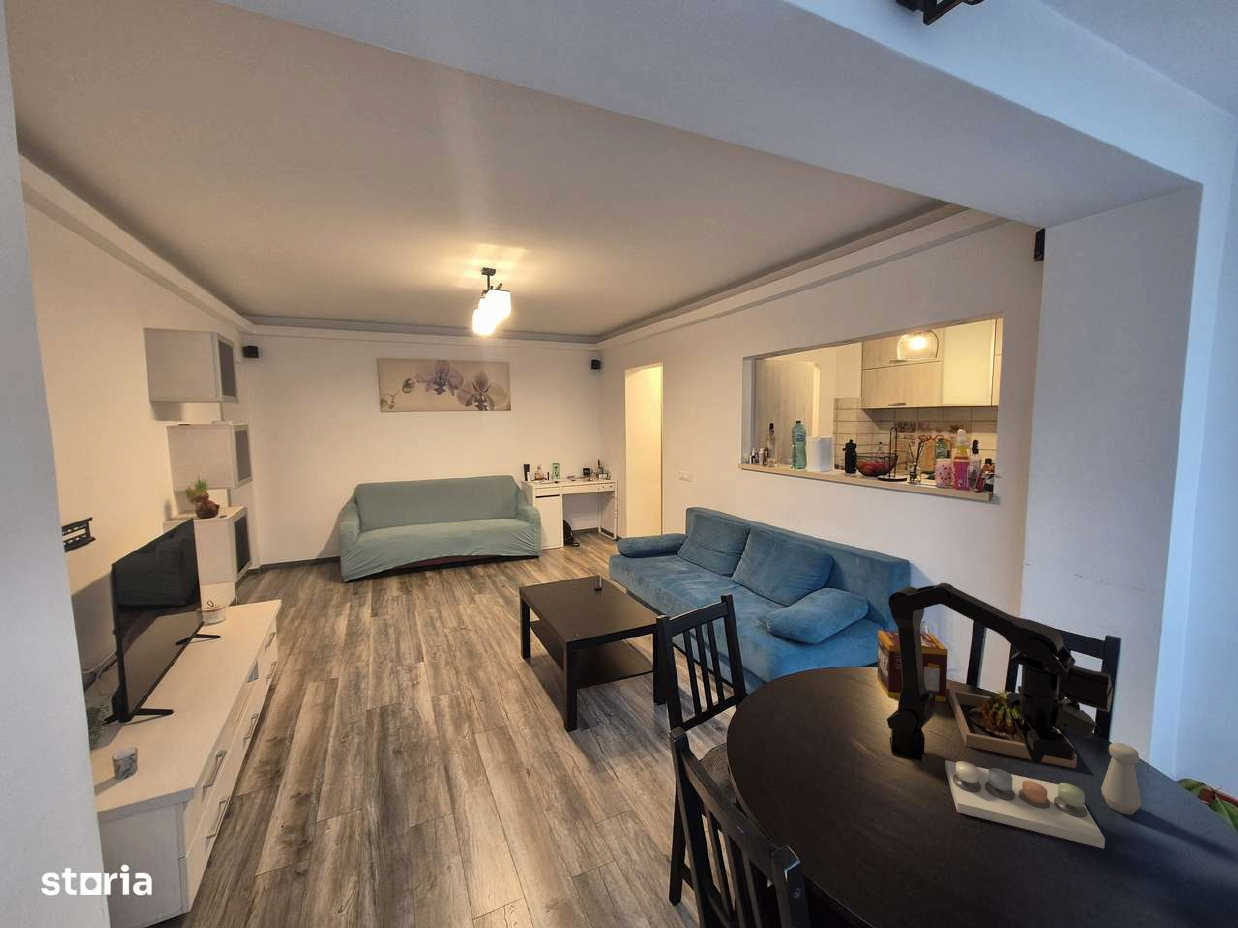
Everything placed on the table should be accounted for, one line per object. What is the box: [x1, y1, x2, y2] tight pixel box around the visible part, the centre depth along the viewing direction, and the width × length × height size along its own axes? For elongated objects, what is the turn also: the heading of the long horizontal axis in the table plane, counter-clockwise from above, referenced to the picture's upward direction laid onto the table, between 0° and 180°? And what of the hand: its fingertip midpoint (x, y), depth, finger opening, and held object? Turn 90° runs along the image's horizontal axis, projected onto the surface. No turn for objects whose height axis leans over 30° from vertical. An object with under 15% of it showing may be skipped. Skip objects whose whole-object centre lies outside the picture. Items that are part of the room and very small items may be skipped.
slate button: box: [988, 767, 1013, 791], centre depth 106 cm, size 4×4×2 cm
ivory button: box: [956, 760, 979, 783], centre depth 108 cm, size 4×4×2 cm
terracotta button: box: [1022, 781, 1048, 804], centre depth 104 cm, size 4×4×2 cm
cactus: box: [968, 690, 1024, 743], centre depth 130 cm, size 17×16×10 cm
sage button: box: [1058, 782, 1086, 807], centre depth 101 cm, size 4×4×2 cm
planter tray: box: [948, 689, 1078, 769], centre depth 129 cm, size 21×22×3 cm
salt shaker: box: [1100, 742, 1142, 816], centre depth 103 cm, size 6×6×13 cm
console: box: [944, 759, 1106, 849], centre depth 105 cm, size 23×14×2 cm, turn 66°
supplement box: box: [876, 630, 949, 702], centre depth 149 cm, size 10×15×16 cm
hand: (1035, 762), depth 103 cm, fingers closed
